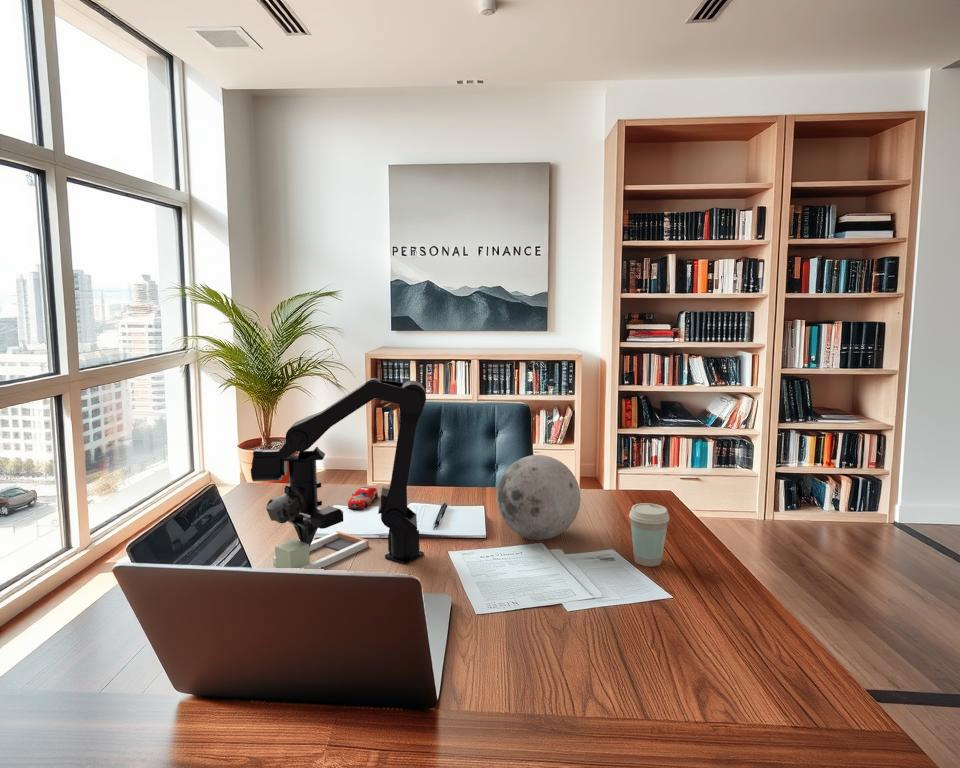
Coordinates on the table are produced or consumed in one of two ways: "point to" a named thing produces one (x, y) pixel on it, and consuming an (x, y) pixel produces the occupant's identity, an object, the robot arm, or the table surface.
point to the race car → (363, 498)
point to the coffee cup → (648, 533)
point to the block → (292, 554)
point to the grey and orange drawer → (344, 541)
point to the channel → (331, 557)
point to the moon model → (538, 497)
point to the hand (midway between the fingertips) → (306, 548)
